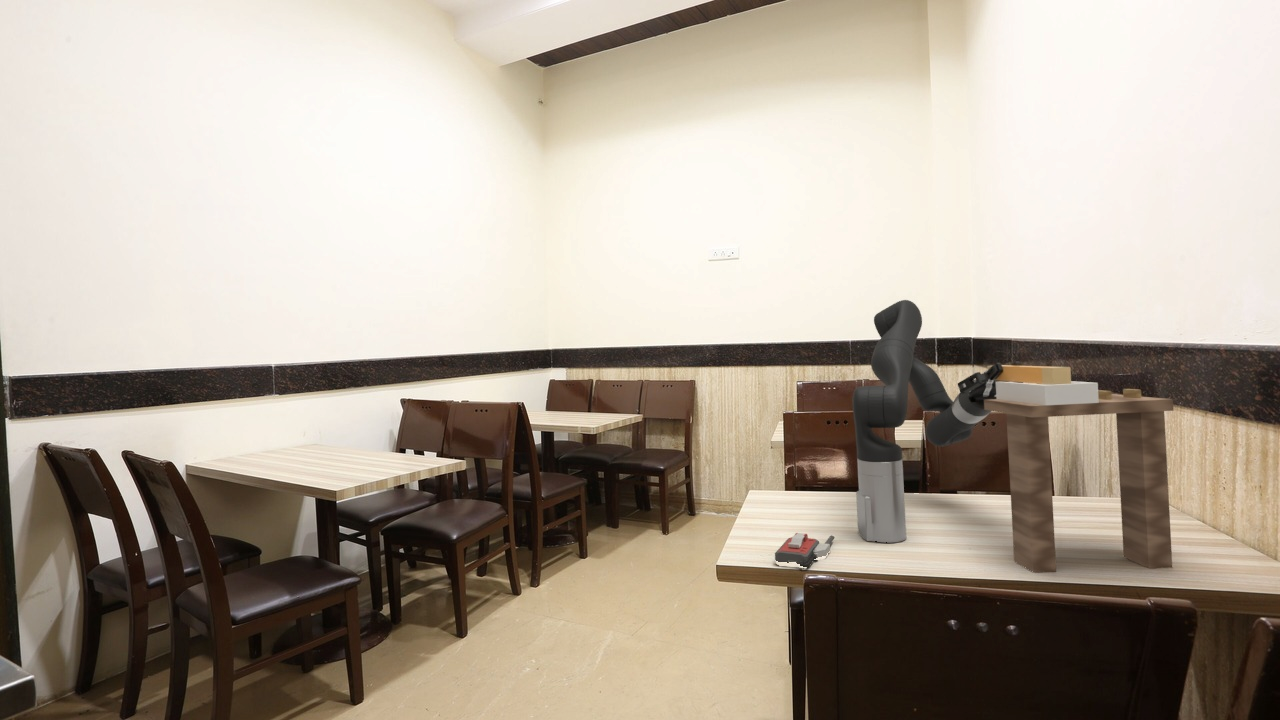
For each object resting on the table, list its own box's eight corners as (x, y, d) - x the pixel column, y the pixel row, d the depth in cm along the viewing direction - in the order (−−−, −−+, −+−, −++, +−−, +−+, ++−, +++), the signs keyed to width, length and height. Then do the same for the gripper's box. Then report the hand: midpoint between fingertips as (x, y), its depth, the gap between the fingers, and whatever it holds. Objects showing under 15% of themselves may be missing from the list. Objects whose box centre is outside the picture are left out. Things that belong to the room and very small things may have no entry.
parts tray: (1045, 405, 107) (1044, 385, 107) (996, 399, 123) (995, 381, 123) (1098, 402, 106) (1097, 382, 106) (1042, 396, 122) (1041, 379, 122)
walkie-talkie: (817, 574, 115) (837, 543, 132) (816, 551, 115) (836, 523, 132) (771, 569, 119) (797, 539, 136) (770, 546, 119) (796, 520, 136)
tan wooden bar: (1052, 384, 109) (1052, 367, 109) (988, 379, 131) (987, 365, 131) (1071, 383, 109) (1070, 367, 109) (1003, 379, 131) (1002, 365, 131)
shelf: (1040, 576, 107) (1030, 397, 107) (991, 548, 123) (983, 392, 123) (1181, 571, 106) (1172, 390, 106) (1114, 543, 122) (1106, 386, 122)
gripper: (939, 389, 143) (969, 352, 128) (1001, 386, 142) (1038, 348, 127) (948, 418, 139) (980, 383, 124) (1011, 415, 138) (1051, 380, 123)
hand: (1009, 366), depth 126 cm, fingers closed on tan wooden bar, 3 cm apart
